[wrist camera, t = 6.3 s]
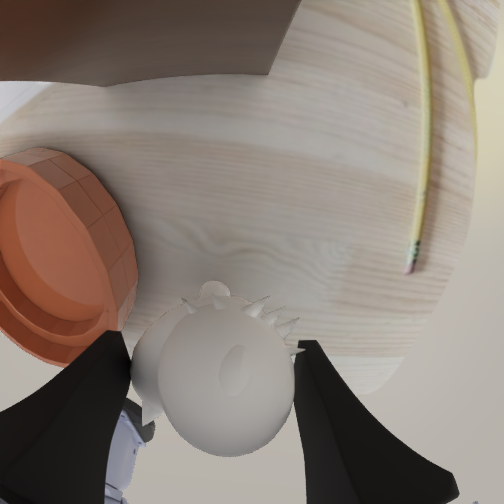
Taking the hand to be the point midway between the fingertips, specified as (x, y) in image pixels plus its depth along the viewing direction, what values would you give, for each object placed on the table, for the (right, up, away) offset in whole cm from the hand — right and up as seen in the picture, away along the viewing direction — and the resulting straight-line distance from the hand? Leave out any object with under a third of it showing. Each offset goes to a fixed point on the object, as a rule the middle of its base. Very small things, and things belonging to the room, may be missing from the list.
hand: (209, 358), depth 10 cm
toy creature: (0, +1, +2) cm, 2 cm away
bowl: (-11, +4, +5) cm, 13 cm away
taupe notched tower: (-2, +15, -1) cm, 15 cm away
